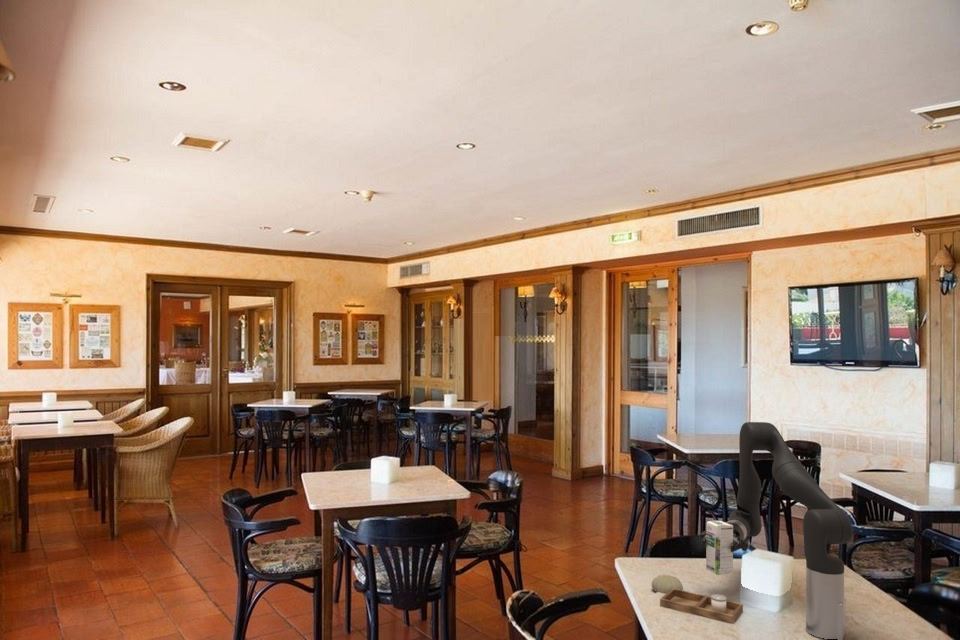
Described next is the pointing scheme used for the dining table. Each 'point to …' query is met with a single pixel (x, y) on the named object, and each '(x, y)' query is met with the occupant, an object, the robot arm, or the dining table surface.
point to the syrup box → (719, 547)
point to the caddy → (699, 605)
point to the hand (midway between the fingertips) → (717, 546)
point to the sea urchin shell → (666, 583)
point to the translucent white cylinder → (718, 603)
